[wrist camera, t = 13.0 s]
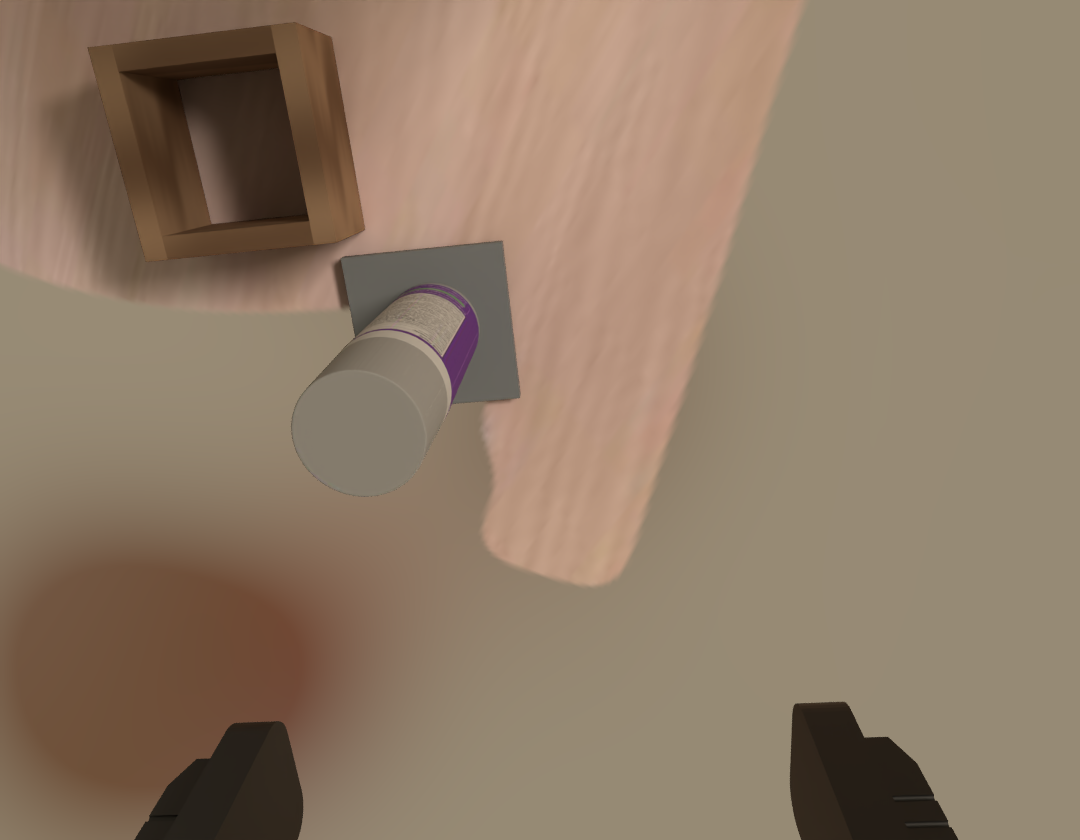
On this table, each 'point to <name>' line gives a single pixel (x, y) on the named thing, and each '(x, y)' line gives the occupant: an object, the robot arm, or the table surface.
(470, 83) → the table surface
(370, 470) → the container
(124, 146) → the holder
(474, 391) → the mat
